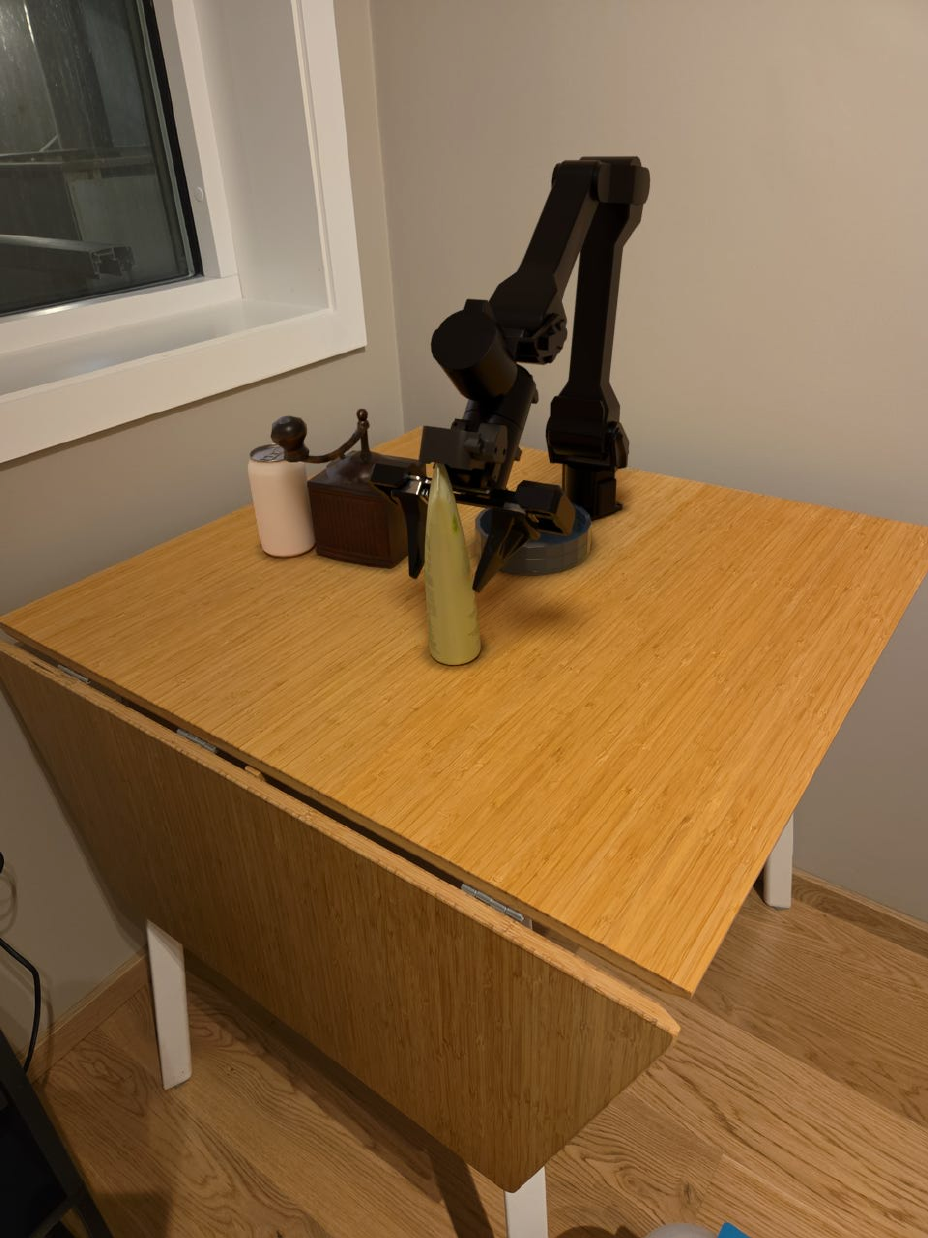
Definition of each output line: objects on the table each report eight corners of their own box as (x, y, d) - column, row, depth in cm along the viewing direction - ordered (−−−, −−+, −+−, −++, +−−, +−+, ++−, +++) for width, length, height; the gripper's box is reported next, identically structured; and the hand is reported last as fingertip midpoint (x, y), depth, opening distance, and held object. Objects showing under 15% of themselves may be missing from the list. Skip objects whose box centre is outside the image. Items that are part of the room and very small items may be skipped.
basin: (454, 544, 107) (452, 517, 105) (540, 513, 113) (540, 487, 111) (523, 587, 97) (523, 558, 95) (614, 550, 103) (615, 523, 102)
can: (326, 539, 109) (314, 444, 103) (296, 562, 104) (281, 465, 98) (282, 531, 112) (267, 438, 105) (251, 553, 107) (233, 458, 100)
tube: (496, 652, 86) (482, 466, 75) (457, 677, 84) (436, 488, 72) (457, 628, 90) (438, 448, 79) (418, 652, 87) (393, 469, 76)
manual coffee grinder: (354, 518, 114) (337, 377, 104) (433, 531, 110) (423, 385, 100) (285, 574, 102) (259, 421, 93) (370, 591, 98) (352, 433, 88)
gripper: (367, 372, 80) (312, 537, 77) (565, 393, 72) (511, 577, 70) (417, 428, 90) (370, 575, 87) (596, 452, 82) (549, 614, 80)
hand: (443, 584), depth 81 cm, fingers open, 6 cm apart
